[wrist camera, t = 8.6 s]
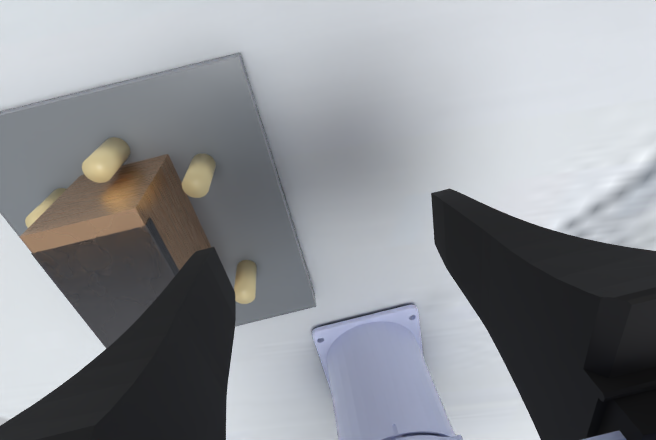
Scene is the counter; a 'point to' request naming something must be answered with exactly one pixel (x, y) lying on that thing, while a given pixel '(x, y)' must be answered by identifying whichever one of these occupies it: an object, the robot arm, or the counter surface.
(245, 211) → the grey peg board
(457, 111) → the counter surface
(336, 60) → the counter surface
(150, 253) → the tan wooden block
